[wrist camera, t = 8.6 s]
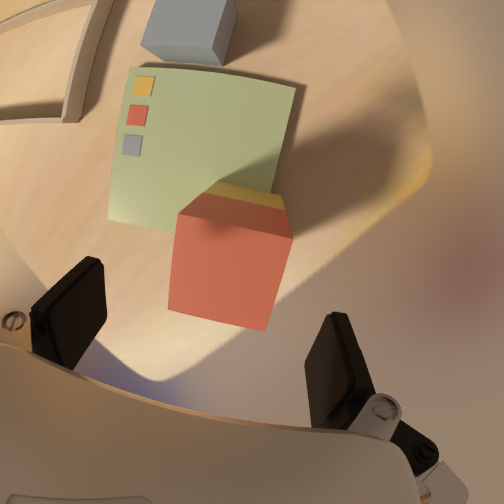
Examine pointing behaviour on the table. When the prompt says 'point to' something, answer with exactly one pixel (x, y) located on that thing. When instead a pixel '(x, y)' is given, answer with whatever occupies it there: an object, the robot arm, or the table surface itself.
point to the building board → (192, 140)
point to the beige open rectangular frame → (82, 58)
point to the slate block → (190, 30)
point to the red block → (228, 260)
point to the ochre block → (246, 194)
